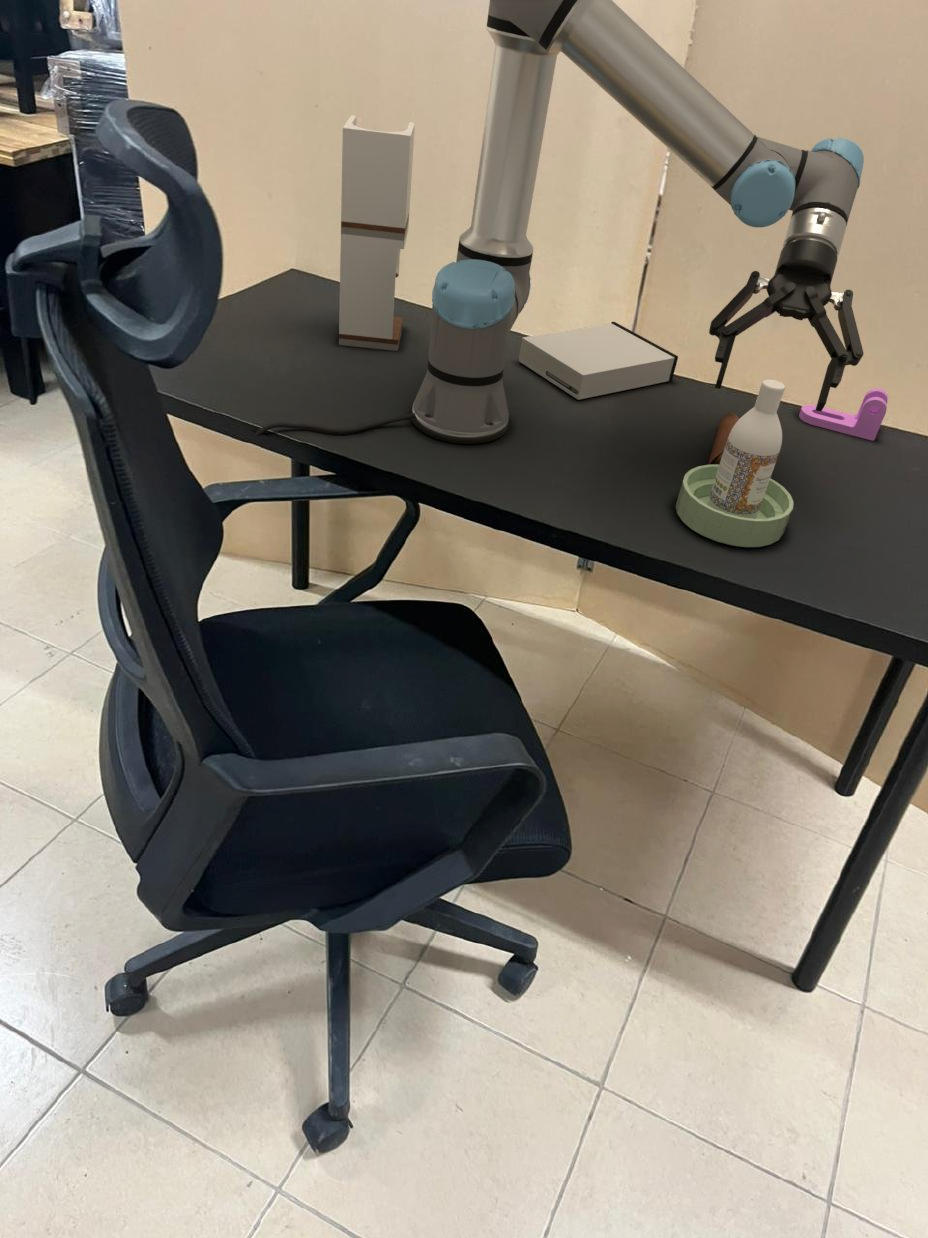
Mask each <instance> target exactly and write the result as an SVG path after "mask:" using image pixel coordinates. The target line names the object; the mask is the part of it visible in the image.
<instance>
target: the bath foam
mask: <svg viewBox="0 0 928 1238" xmlns="http://www.w3.org/2000/svg"><path fill="white" fill-rule="evenodd" d="M785 390H786V385H785V384H784V383H783V382H781V381H779V380H776V379H764V380H763V381H761V385H760V387H759V391H758V394H757V397H756V400H755V402H754V403H755V404H754V406H753V407H752V408H751V409H749V410H748V411H747V412H745V413H744V414H743V415H742V416H741V417H739V420H738V421H737V422H736V424H735V425H734V426H733V428H732V430H731V432H730V434H729V436H728V439H727V442H726V445H725V449H724V452H723V455H722V458H721V461H720V465H719V468H718V471H717V474H716V477H715V481H714V484H713V487H712V490H711V493H710V497H709V500H708V503H707V505H708V506H710V507H712V508H714V509H716V510H719V511H721V512H724V513H727V514H731V515H735V516H739V517H745V518H752V519H756V516H757V514H758V511H759V508H760V506H761V503H762V500H763V497H764V494H765V492H766V489H767V486H768V483H769V480H770V478H771V479H772V475H773V472H774V469H775V466H776V464H777V461H778V457H779V455H780V452H781V449H782V444H783V429H782V426H781V425H782V424H781V422H780V419H779V416H778V409H779V407H780V404H781V402H782V398H783V395H784V393H785Z"/></svg>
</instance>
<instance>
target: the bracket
mask: <svg viewBox="0 0 928 1238" xmlns="http://www.w3.org/2000/svg"><path fill="white" fill-rule="evenodd" d="M816 406H817V404H815V405H814V404H806V405H803V406H801V408H800V411H799V415H798V418H799V419H800V420H801V421H802V422H804V423H807V424H809V425H812V426H815V427H819V428H822V429H827V430H830V431H834V432H838V433H841V434H846V435H849V436H852V437H853V436H854V437H857V438H861V439H865V440H868V441H872V442H875V439H876V437H877V435H878V432H879V430H880V428H881V425H882V423H883V421H884V418H885V416H886V413H887V410H888V409H887V408H888V394H887V392H886V390H884V389H882V388H876V387H875V388H872V389H869V390H868V391H867V392H866V393H865V394H864V397H863V399H862V402H861V404H860V407H859V409H858V412H857V413H856V414H851V413H847V412H843V411H840V410H836V409H833V408H828V407H824V408H823V409H822V411H821V412H820V411H816Z"/></svg>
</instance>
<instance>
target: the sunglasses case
mask: <svg viewBox="0 0 928 1238" xmlns="http://www.w3.org/2000/svg"><path fill="white" fill-rule="evenodd" d="M739 419H740V417H738V416H737V415H736V414H735V413H734V412H728V413H726V414H724V416H722V417H721V419H720V421H719V424H718V427H717V431H716V434H715V438H714V441H713V445H712V449H711V452H710V454H709V460H708V463H707V465H720V461H721V458H722V455H723V452H724V449H725V445H726V442H727V439H728V436H729V434H730V432H731V430H732V428H733V426H734V425H735V424H736V422H737V421H738V420H739Z"/></svg>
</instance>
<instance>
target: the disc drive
mask: <svg viewBox="0 0 928 1238" xmlns="http://www.w3.org/2000/svg"><path fill="white" fill-rule="evenodd" d="M678 360H679V355H676V354H675V353H673V352H671V351H669V350H667V349H666V348H663V347H662V346H660V345H658V344H657V343H654V342H652V341H651V340H649V339H647V338H645V337H643V336H641V335H639V334H638V333H636V332H634V331H633V330H630V329H629V328H626V327H625V326H624V325H621V324H619V323H618V322H616V321H611V322H610V323H607V324H606V323H605V324H600V325H593V326H588V327H581V328H575V329H568V330H561V331H555V332H549V333H548V332H547V333H542V334H537V335H536V334H535V335H528V336H523V337H521V342H520V349H519V355H518V362H519V363H520V364H522V365H524V366H525V367H527V368H528V369H529V370H532V371H533V372H535V373H536V374H538V375H539V376H541V377H542V378H543V379H545V380H547V381H549V382H550V383H552V384H553V385H555V386H556V387H558V388H559V389H561V390H562V391H563V392H565V393H567V394H569V395H570V396H571V397H573V398H575V399H576V400H578V401H579V400H584V399H589V398H594V397H598V396H603V395H608V394H613V393H618V392H622V391H627V390H632V389H637V388H641V387H642V388H643V387H647V386H652V385H656V384H657V385H658V384H661V383H666V382H667V383H669V384H670V383H672V382H673V379H674V375H675V372H676V368H677V363H678Z"/></svg>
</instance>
